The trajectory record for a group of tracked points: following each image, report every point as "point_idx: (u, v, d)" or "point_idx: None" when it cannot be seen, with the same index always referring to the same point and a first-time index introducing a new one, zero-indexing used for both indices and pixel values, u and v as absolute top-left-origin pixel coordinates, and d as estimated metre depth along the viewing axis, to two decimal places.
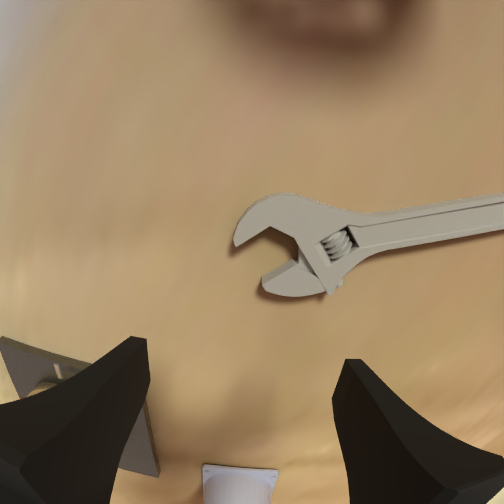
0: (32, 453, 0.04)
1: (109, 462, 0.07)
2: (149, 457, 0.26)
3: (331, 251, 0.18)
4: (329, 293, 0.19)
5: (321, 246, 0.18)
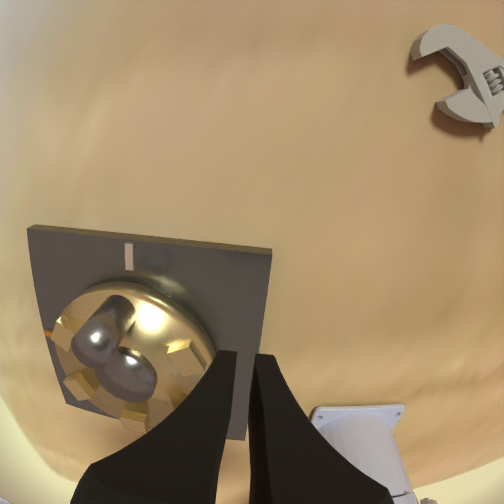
0: None
1: (216, 484, 0.07)
2: (244, 404, 0.21)
3: (491, 84, 0.13)
4: (494, 125, 0.14)
5: None
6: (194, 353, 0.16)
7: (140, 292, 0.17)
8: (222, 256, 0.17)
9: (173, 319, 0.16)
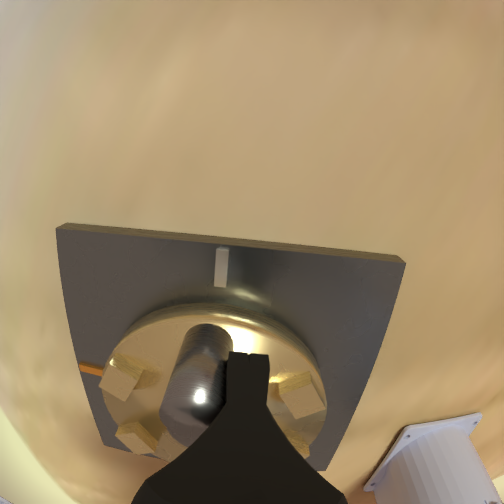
0: None
1: None
2: (338, 434, 0.17)
3: None
4: None
5: None
6: (316, 389, 0.12)
7: (236, 316, 0.13)
8: (350, 266, 0.13)
9: (288, 349, 0.12)
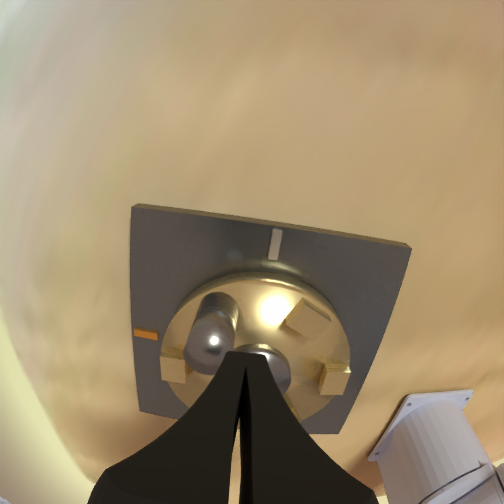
0: None
1: None
2: (352, 395, 0.20)
3: None
4: None
5: None
6: (313, 309, 0.15)
7: (230, 280, 0.16)
8: (370, 248, 0.17)
9: (276, 287, 0.16)
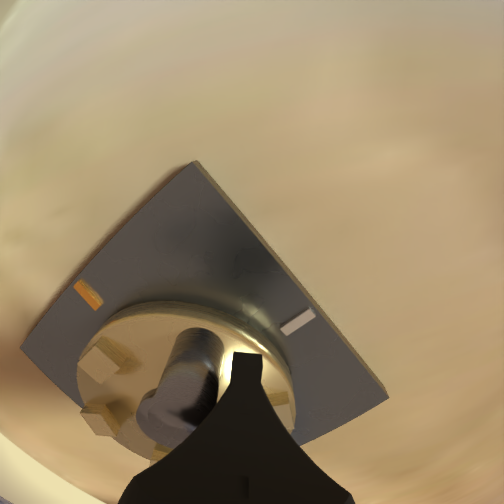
0: None
1: None
2: None
3: None
4: None
5: None
6: (290, 410, 0.12)
7: (232, 327, 0.13)
8: (363, 378, 0.15)
9: (274, 368, 0.12)
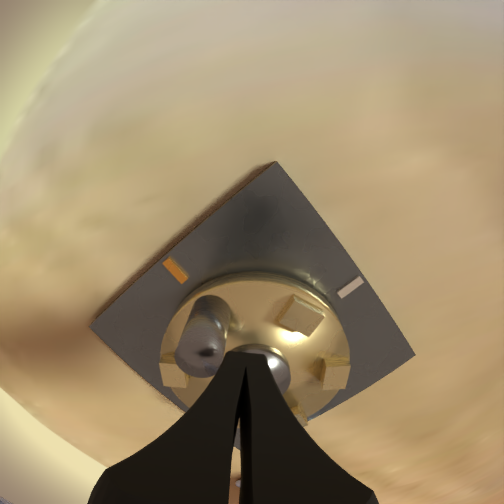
0: None
1: None
2: None
3: None
4: None
5: None
6: (304, 304, 0.15)
7: (220, 282, 0.16)
8: (396, 336, 0.19)
9: (265, 285, 0.16)
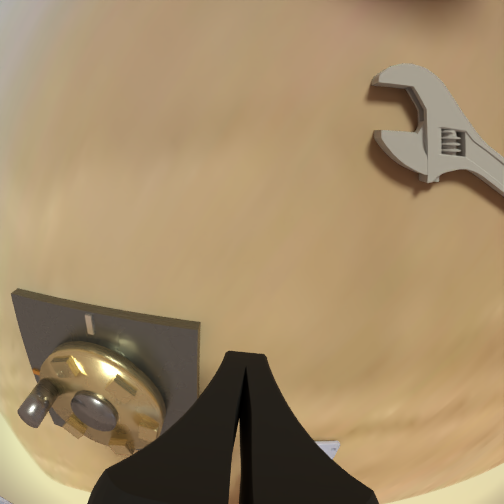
0: None
1: None
2: None
3: (446, 143, 0.16)
4: (428, 180, 0.16)
5: None
6: (55, 361, 0.18)
7: None
8: (158, 329, 0.20)
9: (45, 360, 0.19)
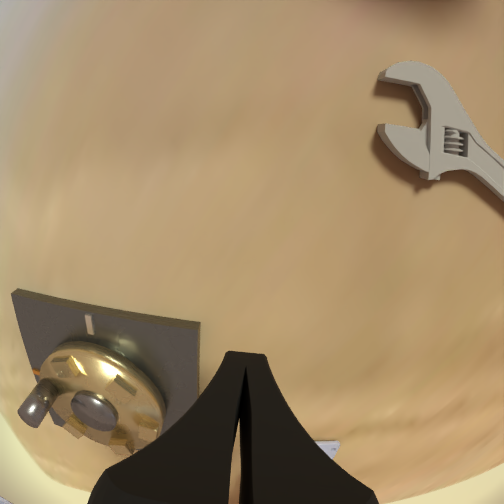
0: None
1: None
2: None
3: (449, 142, 0.16)
4: (429, 177, 0.16)
5: None
6: (55, 361, 0.18)
7: None
8: (158, 329, 0.20)
9: (45, 360, 0.19)
